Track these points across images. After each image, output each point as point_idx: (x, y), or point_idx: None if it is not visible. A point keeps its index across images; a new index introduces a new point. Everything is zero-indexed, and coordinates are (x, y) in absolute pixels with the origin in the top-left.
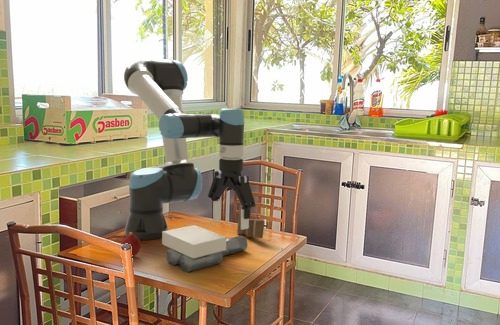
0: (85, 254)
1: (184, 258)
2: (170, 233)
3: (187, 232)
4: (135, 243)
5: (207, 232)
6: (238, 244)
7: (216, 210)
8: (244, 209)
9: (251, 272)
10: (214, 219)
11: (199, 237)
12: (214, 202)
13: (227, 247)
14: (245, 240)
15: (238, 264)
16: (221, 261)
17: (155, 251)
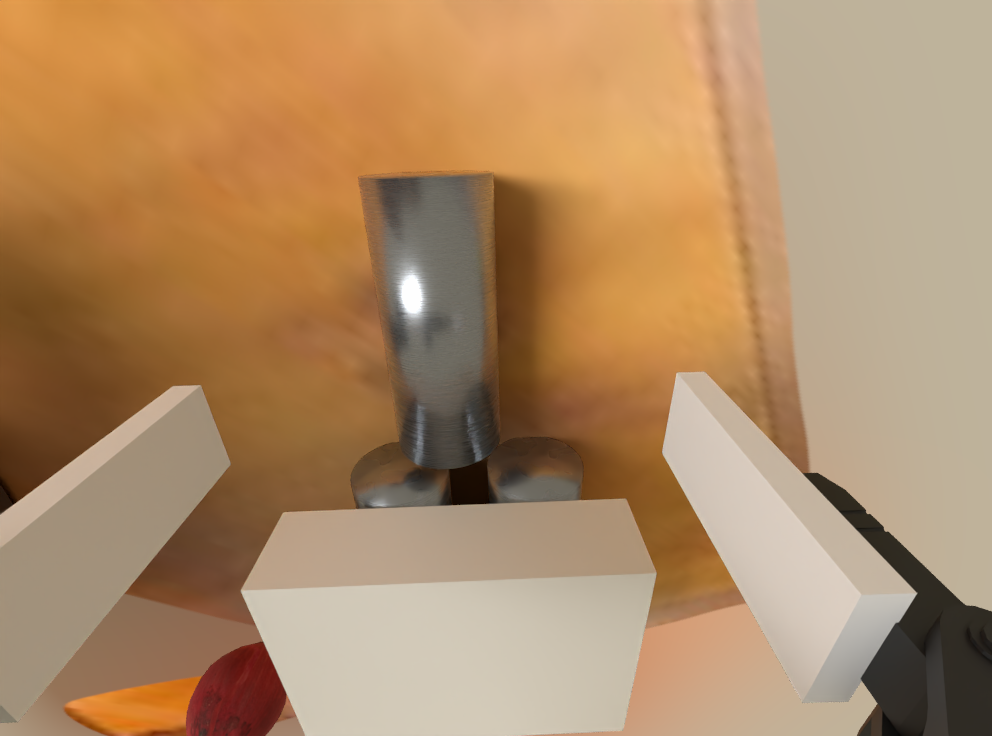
0: (168, 717)
1: None
2: (370, 734)
3: (402, 679)
4: (270, 720)
5: (478, 608)
6: (492, 277)
7: (135, 533)
8: (860, 662)
9: (758, 389)
10: (221, 474)
11: (539, 674)
12: (34, 697)
13: (495, 378)
14: (482, 191)
15: (630, 372)
16: (569, 447)
17: (228, 563)
